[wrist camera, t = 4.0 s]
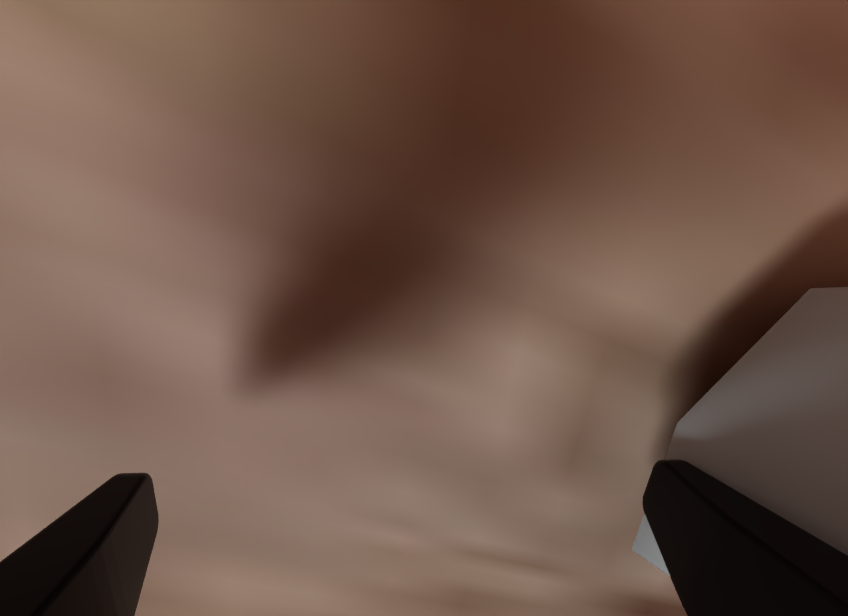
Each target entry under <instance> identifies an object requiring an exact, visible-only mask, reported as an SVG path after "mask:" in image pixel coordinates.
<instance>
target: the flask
mask: <svg viewBox="0 0 848 616" xmlns="http://www.w3.org/2000/svg"><path fill="white" fill-rule="evenodd" d="M671 459H680V460H684V461H686V462H688V463H690V464H692V465H693V466H695V467H697V468H699V469H700V470H702V471H704V472H705V473H707V474H709V475H711V476H712V477H714V478H716V479H717V480H719V481H721V482H723V483H724V484H726V485H728V486H729V487H731V488H733V489H735V490H736V491H738V492H740V493H741V494H743V495H745V496H747V497H748V498H750V499H752V500H753V501H755V502H757V503H759V504H760V505H762V506H764V507H765V508H767V509H769V510H771V511H772V512H774V513H776V514H777V515H779V516H781V517H783V518H784V519H786V520H788V521H789V522H791V523H793V524H795V525H796V526H798V527H800V528H801V529H803V530H805V531H807V532H808V533H810V534H812V535H813V536H815V537H817V538H819V539H820V540H822V541H824V542H825V543H827V544H829V545H831V546H832V547H834V548H836V549H837V550H839V551H841V552H843V553H844V554H846V555H848V287H831V288H810V289H809V290H808V291H807V292H806V293H805V294H804V295H803V296H802V297H801V298H800V299H799V300H798V301H797V302H796V303H795V304H794V305H793V306H792V307H791V308H790V309H789V310H788V311H787V312H786V313H785V314H784V315H783V316H782V317H781V318H780V319H779V320H778V321H777V322H776V323H775V325H774V326H773V327H772V328H771V329H770V330H769V331H768V332H767V333H766V334H765V335H764V336H763V337H762V338H761V339H760V340H759V341H758V342H757V343H756V344H755V345H754V346H753V347H752V348H751V349H750V350H749V351H748V352H747V353H746V354H745V355H744V356H743V357H742V358H741V359H740V360H739V361H738V362H737V363H736V364H735V365H734V366H733V367H732V368H731V369H730V370H729V371H728V372H727V373H726V374H725V375H724V376H723V377H722V378H721V379H720V380H719V381H718V382H717V383H716V384H715V385H714V386H713V387H712V388H711V389H710V390H709V391H708V392H707V393H706V394H705V395H704V396H703V397H702V398H701V399H700V400H699V401H698V402H697V403H696V404H695V405H694V406H693V407H692V408H691V409H690V410H689V411H688V412H687V413H686V414H685V415H684V416H683V417H682V418H681V419H680V420H679V421H678V422H677V425H676V428H675V431H674V433H673V436H672V439H671V442H670V444H669V447H668V450H667V453H666V456H665V458H664V460H671ZM631 550H633V551H634V552H636V553H637V554H638V555H640V556H641V557H643V558H644V559H646V560H647V561H649V562H650V563H651V564H653V565H654V566H656V567H657V568H659V569H660V570H662V571H663V572H665V573H666V574H667V575H669V576H670V574H669V572H668V570H667V567H666V565H665V562H664V560H663V557H662V555H661V552H660V550H659V547H658V545H657V543H656V540H655V538H654V535H653V533H652V530H651V528H650V525H649V523H648V520H647V518H646V516H645V514H644V516H643V519H642V522H641V525H640V527H639V530H638V533H637V536H636V538H635V541H634V544H633V547H632V549H631Z"/></svg>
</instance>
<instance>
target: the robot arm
mask: <svg viewBox="0 0 848 616" xmlns="http://www.w3.org/2000/svg"><path fill="white" fill-rule="evenodd" d="M643 509H644V513H645V516H646V518H647V520H648V523H649V525H650V528H651V530H652V533H653V535H654V538H655V540H656V543H657V545H658V547H659V550H660V552H661V555H662V557H663V560H664V562H665V565H666V567H667V570H668V572H669V574H670V577H671V579H672V582H673V584H674V587H675V589H676V591H677V594H678V596H679V598H680V601H681V603H682V605H683V607H684V609H685V611H686V613H687V615H688V616H848V555H846V554H844V553H843V552H841V551H839V550H837V549H836V548H834V547H832V546H831V545H829V544H827V543H825V542H824V541H822V540H820V539H819V538H817V537H815V536H813V535H812V534H810V533H808V532H807V531H805V530H803V529H801V528H800V527H798V526H796V525H795V524H793V523H791V522H789V521H788V520H786V519H784V518H783V517H781V516H779V515H777V514H776V513H774V512H772V511H771V510H769V509H767V508H765V507H764V506H762V505H760V504H759V503H757V502H755V501H753V500H752V499H750V498H748V497H747V496H745V495H743V494H741V493H740V492H738V491H736V490H735V489H733V488H731V487H729V486H728V485H726V484H724V483H723V482H721V481H719V480H717V479H716V478H714V477H712V476H711V475H709V474H707V473H705V472H704V471H702V470H700V469H699V468H697V467H695V466H693V465H692V464H690V463H688V462H686V461H684V460H680V459H671V460H659V461H658V462H657V463H656V464H655V465H654V467H653V469H652V472H651V475H650V478H649V481H648V484H647V487H646V489H645V492H644V495H643ZM157 530H158V510H157V505H156V499H155V493H154V487H153V482H152V478H151V477H150V475H149V474H147V473H121V474H117V475H115V476H113V477H112V478H110V479H109V480H108V481H106V482H105V483H104V484H102V485H101V486H100V487H98V488H97V489H96V490H95V491H93V492H92V493H91V494H89V495H88V496H87V497H85V498H84V499H83V500H81V501H80V502H79V503H77V504H76V505H75V506H73V507H72V508H71V509H69V510H68V511H67V512H65V513H64V514H63V515H62V516H60V517H59V518H58V519H56V520H55V521H54V522H52V523H51V524H50V525H48V526H47V527H46V528H44V529H43V530H42V531H40V532H39V533H38V534H36V535H35V536H34V537H32V538H31V539H30V540H28V541H27V542H26V543H25V544H23V545H22V546H21V547H19V548H18V549H17V550H15V551H14V552H13V553H11V554H10V555H9V556H7V557H6V558H5V559H3V560H2V561H1V562H0V616H134V615H135V611H136V608H137V604H138V600H139V597H140V593H141V589H142V586H143V582H144V578H145V575H146V571H147V567H148V564H149V560H150V556H151V553H152V549H153V545H154V542H155V538H156V534H157Z"/></svg>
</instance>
